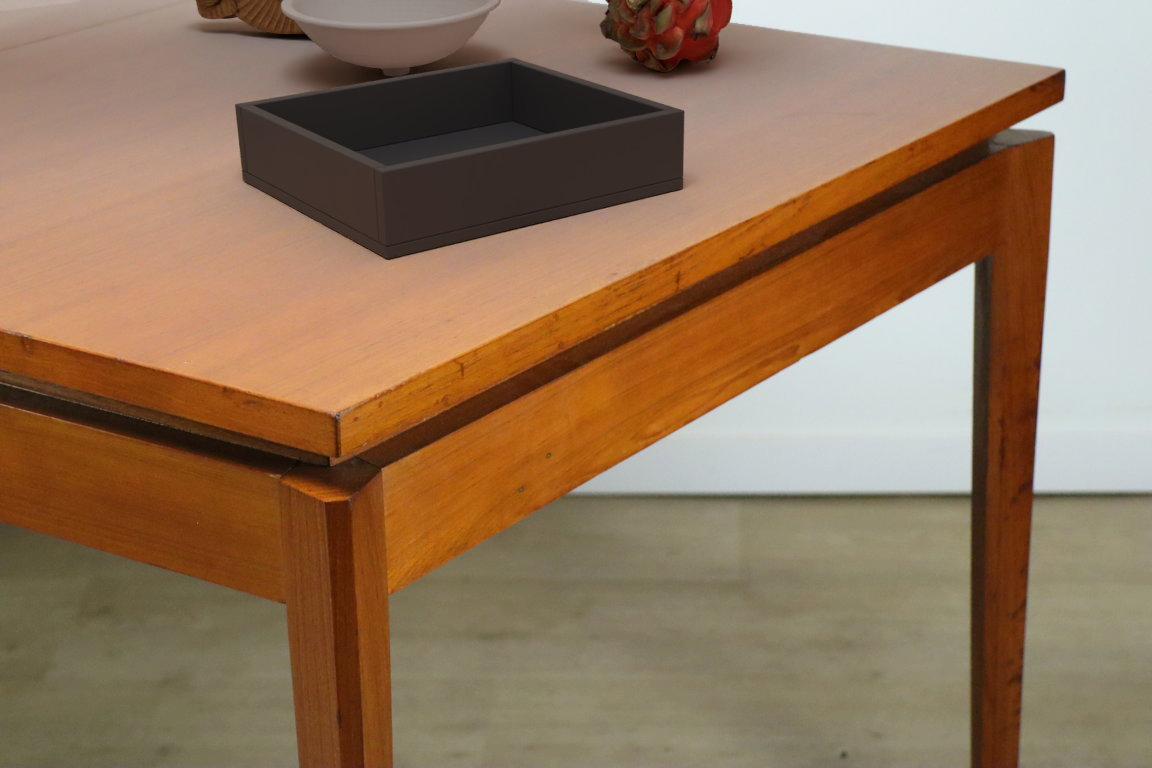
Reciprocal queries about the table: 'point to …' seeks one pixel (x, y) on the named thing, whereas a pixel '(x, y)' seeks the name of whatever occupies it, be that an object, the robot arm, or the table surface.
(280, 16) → the wooden carving
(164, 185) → the table surface
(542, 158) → the tray
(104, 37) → the table surface
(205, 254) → the table surface
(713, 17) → the dragon fruit
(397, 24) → the dish
